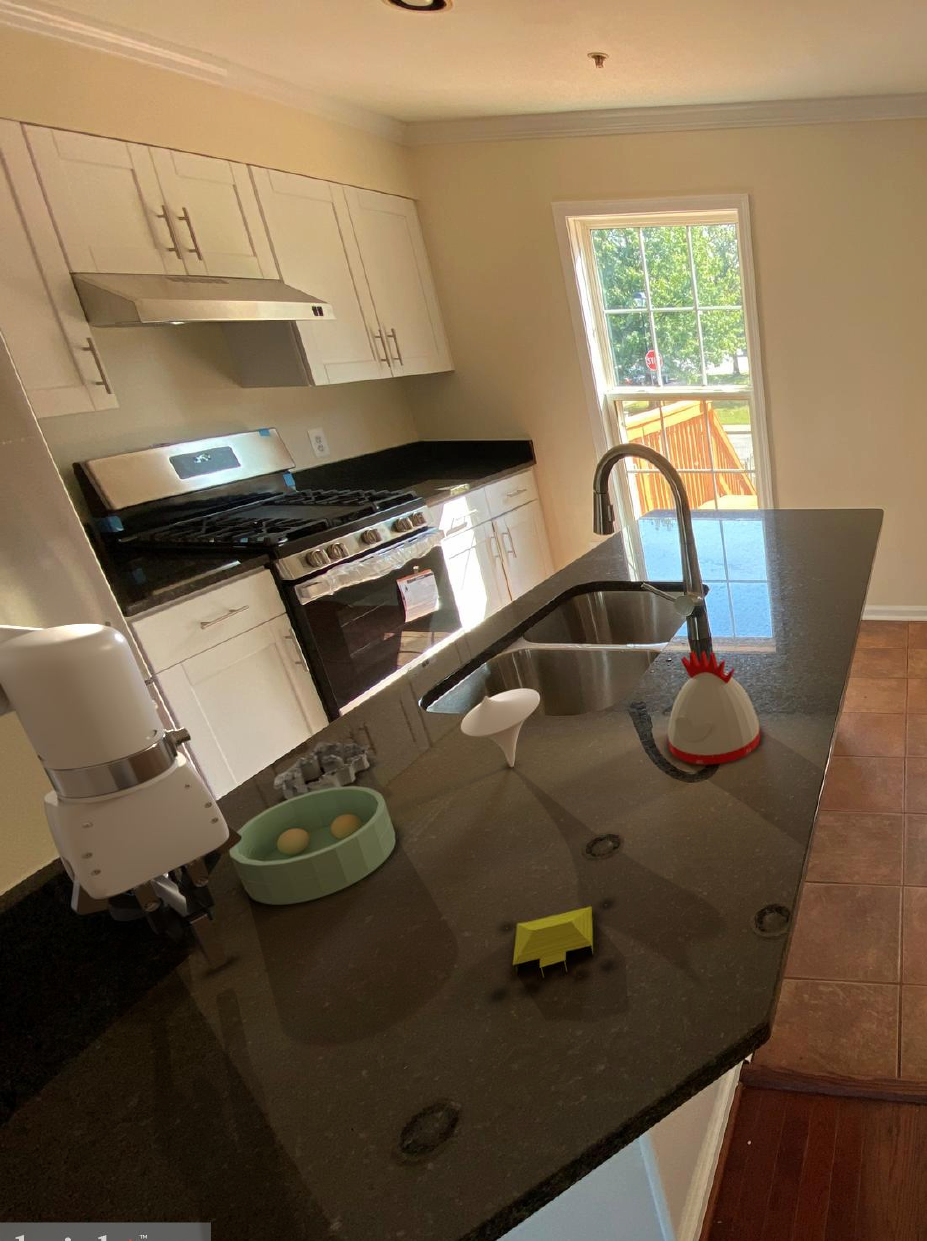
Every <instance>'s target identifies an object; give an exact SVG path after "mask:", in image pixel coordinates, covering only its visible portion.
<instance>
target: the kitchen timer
mask: <svg viewBox="0 0 927 1241" xmlns="http://www.w3.org/2000/svg"><path fill="white" fill-rule="evenodd" d="M681 663H682V665H683V667H684V669H685V671H686V672H687V674H688V676H689V679H688V680H687V681H686V682H685V683H684V684H683V686H682V687H681V688H680V690H679V691H678V692H677V693H676V694H675V696H676V698H675V700H674V703H673V706H672V708H671V713H670V717H669V721H668V726H667V727H668V728H667V736H668V745H669V751H670V752H671V754H673V756H674V757H676V758H677V759H679V760H681V761H683V762H686V763H690V764H694V765H695V764H696V765H706V766H707V765H719V764H725V763H729V762H733V761H736V760H739V759H740V758H743V757H745V756H746V755H748V754H749V753H751V752H753V751H754V749H756V747H757V746H758V745H759V742H760V739H761V738H760V737H761V733H760V723H759V720H758V717H757V714H756V711H755V708H754V705H753V703H752V701H751V699H750V697H749V695H748V693H747V692H746V690H745V688H744V687H743V686H742V685H741V684H740V683H739V682H738V681H737V680H736V679H734V678H733V675H734V672H735V668H732V669H731V670H730V671H729V673H725V664H726V661H725V659H723V660H722V661H721V662H720V663H719V664H718V662H717V658H716V654H715V652H714V651H713V652H711V653H710V655H709V660H708V658H707V653H706V651H705V650H704V651H702V653H701V654H700V658H699V660H698V658H697V654H696V652H695V651H694V650H692V651H691V652H689V659H688V658H687V657H686V656H683V657H682V658H681Z"/></svg>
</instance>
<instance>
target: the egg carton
mask: <svg viewBox="0 0 927 1241" xmlns="http://www.w3.org/2000/svg"><path fill="white" fill-rule="evenodd" d="M369 747H370V745H369V744H364V746H360V745H358V744H357V743H355V742H353V743H351V744H348V743H347V742H345V743H344V742H343V743H340V742H335V743H329V742H325V741H319V742H317V743H316V745H315V746H314V748H313V749H312V750H310V752H309V753H307V754H305V755H304V757H299V758H298V759H297V760H296V763H294V764H293V765H291V766H290V767H289V768H288V769H287V770H285V771H284V772H281V773H279V774H278V775H276V777H275V778H274V781H273V790H279V789H281V791H282V793H283V797H284V799H286V800H289V799H291V798H294V797H297V796H300V795H304V794H307V793H310V792H313V791H318V790H323V789H328V788H333V787H344V786H345V785H347V784H351V783H353V782H354V781H355V780H356V776H355V775H356V773H357V772H359V771H363V770H367V769H368V768H369V767H370V763H369V762H368V758H367V754H369V753H370V751H369ZM321 768H323V771H324V773H323V772H322V770H321ZM317 778H318V779H317ZM315 779H317V780H318V781H312V780H315ZM307 781H312V782H309V783H308V784H306V782H307Z"/></svg>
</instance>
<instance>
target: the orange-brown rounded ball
mask: <svg viewBox="0 0 927 1241" xmlns="http://www.w3.org/2000/svg"><path fill="white" fill-rule="evenodd" d="M309 842H310V837H309V834H308V833H307V832H306V831H304V830H302V829H298V828H295V829H290V830H287V831H285V832H284V833H282V834H281V836H280V837H279V839H278V841H277V846H278V849H279V850H280V851H281V852H282V853H284V854H288V855H293V854H298V853H300V852H302V851H303V850H305V849H306V848H307V846H308V844H309Z"/></svg>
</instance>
